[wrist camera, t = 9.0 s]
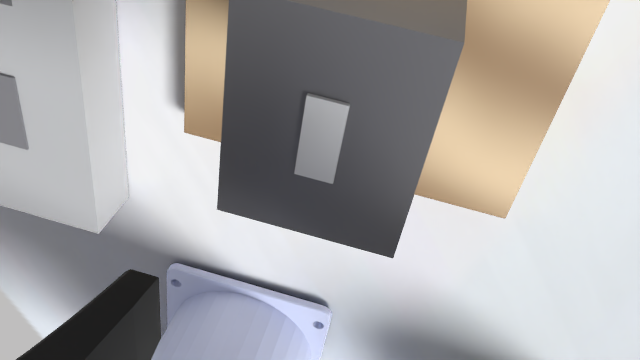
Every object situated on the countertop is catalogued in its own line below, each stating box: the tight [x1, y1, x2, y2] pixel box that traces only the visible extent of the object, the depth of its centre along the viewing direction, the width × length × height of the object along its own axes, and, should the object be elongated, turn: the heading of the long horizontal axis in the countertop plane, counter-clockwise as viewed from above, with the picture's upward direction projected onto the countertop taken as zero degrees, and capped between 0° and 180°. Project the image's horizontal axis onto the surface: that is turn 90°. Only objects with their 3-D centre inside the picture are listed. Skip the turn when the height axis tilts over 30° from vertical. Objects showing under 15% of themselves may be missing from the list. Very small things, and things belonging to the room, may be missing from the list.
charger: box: [217, 0, 467, 258], centre depth 14 cm, size 5×4×8 cm
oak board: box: [184, 0, 610, 218], centre depth 17 cm, size 12×12×1 cm
